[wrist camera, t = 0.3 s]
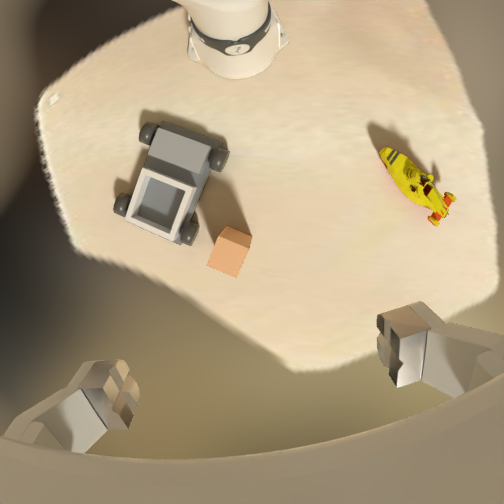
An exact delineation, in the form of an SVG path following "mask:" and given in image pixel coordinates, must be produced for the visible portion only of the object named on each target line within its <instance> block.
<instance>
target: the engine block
mask: <svg viewBox="0 0 504 504" xmlns="http://www.w3.org/2000/svg"><path fill="white" fill-rule="evenodd" d="M251 239H252V236H250V235H247V234H245V233H243V232H240V231H238V230H236V229H233V228H231V227H229V226H226V227H225V228H224V230H223V231H222V232H221V233H220V234H219V236H218V238H217V241H216V243H215V245H214V248H213V250H212V253H211V255H210V258H209V260H208V263H207V266H209V267H212V268H214V269H216V270H219V271H221V272H223V273H226V274H228V275H230V276H233V277H235V278H237V276H238V274H239V271H240V269H241V267H242V264H243V262H244V260H245V258H246V255H247V253H248V251H249V248H250V244H251Z"/></svg>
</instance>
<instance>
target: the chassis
mask: <svg viewBox="0 0 504 504" xmlns="http://www.w3.org/2000/svg"><path fill="white" fill-rule="evenodd" d="M139 141H140V142H142V143H144V144H147V145H150V146H151V147H150V149H149V152H148V157H147V160H146V162H145V165H144V168H142V170H141V173H140V176H139V178H138V181H137V184H136V187H135V190H134V193H133V196H132V197H131V196H129V195H126V194H124V193H121V194H120V195H119V196H118V197H117V199H116V201H115V204H114V208H113V210H114V213H116V214H119V215H121V216H123V217H125V216H126V217H125V221H127V222H129V223H131V224H133V225H136V226H138V227H140V228H142V229H145V230H147V231H149V232H151V233H154V234H156V235H158V236H160V237H163V238H165V239H167V240H170V241H172V242H174V243H176V244H179V245H182V243H184V244H187V245H189V246H191V245H192V244H193V242H194V240H195V238H196V236H197V233H198V230H199V225H197V224H195V223H193V222H191V219H192V216H193V214H194V211H195V209H196V206H197V204H198V201H199V199H200V196H201V194H202V191H203V189H204V186H205V184H206V181H207V179H208V176H209V174H210V172H211V169H213V170H215V171H218V172H222V170H223V168H224V166H225V164H226V162H227V160H228V157H229V153H230V151H228V150H225V149H223V148H221V146H222V142H219V141H217V140H214V139H212V138H209V137H206V136H204V135H201V134H198V133H195V132H193V131H190V130H187V129H184V128H181V127H179V126H176V125H173V124H170V123H167V122H164V121H162V122H161V125H160V127H159V125H157V124H154V123H151V122H146V123H145V124H144V125H143V127H142V129H141V131H140V134H139Z"/></svg>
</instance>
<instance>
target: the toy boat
mask: <svg viewBox="0 0 504 504" xmlns="http://www.w3.org/2000/svg"><path fill="white" fill-rule="evenodd" d="M379 153H380V157H381V159H382V161H383V163H384V164H385V166H386V169H387V171H388V173H389V174H391V176H392V178H393V179H394V181H395V183H396V185H397V187H398V188H399V189H400V190H401V191H402V193H403V194H404V195H405V196H406V197H407V198H409V199H410V200H411V201H413V202H414V203H416V204H419V205H421V206H424V207H426V208H429V209H431V210H432V211H433V214H432V215H431V217H430V216H428V220H429V221H430V222H431V223H432V224H433V225H435V226H438V225H439V224H440V223H439V220H440V219H441V218H445V217H446V215H447V214H448V211H449V208H448V207H449V206H450V204H451V202H454V201H455V200H456V197H455V196H454V195H453V194H451V193H449V192H445V193H444V195H445V196H444V198H443V196H442V195H441V194H440V193H439V191H438V190H437V189H436V188H435V187H434V185H433V184H432V183H431V182H432V181H433V179H434V177H433V176H432V175H431V174H428V175H427V174H425V173H424V172H422V171H421V170H420V169H419V168H418V167H417V166H416V165H415V164H414V163H413V162H412V161H411V160H410V159H409V158H408V157H407V156H406V155H404V154H402V153H400V152H398V151H396V150H394V149H392V148H389V147H385V148H383V149H381V151H380V152H379ZM392 167H393V168H392ZM420 181H421V183H422V184H423V185H420V184H419V183H420ZM410 184H411V185H412V186H413V187H414V188H415V190H414V192H412V191H411V190H412V189H413V188H412V187H411V186H410ZM411 188H412V189H411ZM448 215H449V214H448Z"/></svg>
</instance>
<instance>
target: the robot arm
mask: <svg viewBox="0 0 504 504" xmlns="http://www.w3.org/2000/svg"><path fill="white" fill-rule="evenodd" d="M172 1H175V2H177V3H179V4H181V5H182V6H183V7H184V8H185V9H186V10H187V12H188V20H189V21H191V26H189V28H188V30H189V33H190V38H189V47H188V56H189V58H190V59H191V60H193V61H195V62H199V63H202V64H203V65H205V66H206V67H207V68H208V69H209V70H210V71H212V72H213V73H215V74H217V75H219V76H222V77H225V78H230V79H242V78H248V77H251V76H254V75H256V74H258V73H260V72H262V71H263V70H265V69H266V68H267V67H268V66H269V65H270V64H271V63H272V61H273V60H274V58H275V56H276V54H277V52H278V51H279V50H281V49H282V48H283V47H285V46H286V45H287V44H288V42H289V38H288V36H287V34H286V32H285V30H284V28H283V26H282V24H281V22H280V20H279V18H278V16H277V14H276V12H275V10H274V8H273V7H272V5H271V3H270V1H269V0H172ZM280 34H282V36H280ZM193 49H194V50H193ZM377 328H378V329H379V331H380V334H379V336H378V337H377V349H378V354H379V357H380V360H381V362H382V364H383V366H385V367H388V368H389V376H390V377H391V379H392V380H393V382H394V384H395V386H396V387H397V388H398V387H401V386H404V385H407V384H410V383H413V382H416V381H419V380H422V381H423V382H425V383H427V384H429V385H430V386H433V387H434V388H436V389H438V390H440V391H442V392H444V393H446V394H448V395H450V396H452V397H453V399H451V400H449V401H447V402H444V403H442V404H440V405H438V406H435V407H433V408H430V409H428V410H426V411H423V412H421V413H418V414H415V415H413V416H411V417H407V418H405V419H402V420H399V421H397V422H394V423H391V424H388V425H385V426H381V427H379V428H375V429H372V430H369V431H365V432H362V433H358V434H354V435H351V436H347V437H343V438H339V439H335V440H331V441H327V442H322V443H318V444H313V445H308V446H303V447H298V448H292V449H286V450H280V451H274V452H267V453H260V454H253V455H243V456H233V457H221V458H204V459H138V458H137V459H136V458H120V457H110V456H100V455H91V454H84V453H85V451H87V449H89V448H90V447H91V446H92V445H93V444H94V443H95V442H96V441H97V440H98V439H99V438H100V437H101V436H102V435H103V434H104V433H105V432H106V431H107V429H129V426H130V423H131V421H132V419H133V416H134V415H133V413H132V410H133V409H134V408H136V407H137V406H138V403H139V394H140V393H139V389H138V385H137V384H136V381H135V380H134V379H133V378H131V377H130V376H129V375H128V374H129V370H130V369H129V368H128V366H127V364H126V362H125V361H123V360H106V361H88V362H84V363H83V365H82V366H81V367H80V369H79V370H78V372H77V373H76V374H75V376H74V377H73V379H72V380H71V382H70V383H69V384H68V386H67V387H66V388H63V389H61V390H59V391H58V392H56V393H55V394H53V395H51V396H50V397H48V398H46V399H45V400H43V401H41V402H40V403H38V404H37V405H35V406H33V407H32V408H30V409H28V410H27V411H25V412H24V413H22V414H21V415H19V416H17V417H16V418H15V419H14V421H13V422H12V424H11V425H10V426H9V428H8V429H7V431H6V432H5V434H4V435H3V436H1V435H0V504H504V335H502V334H497V333H493V332H489V331H484V330H480V329H476V328H472V327H467V326H463V325H459V324H455V323H451V322H450V323H447V324H446V323H445V322H444V321H443V320H442V319H441V318H440V317H439V316H437V315H436V314H435V313H434V312H433V311H432V310H431V309H430V308H429V307H428V306H427V305H426V304H424V303H423V302H421V301H418V302H415V303H412V304H409V305H407V306H404V307H401V308H398V309H394V310H391V311H388V312H385V313H381V314H378V315H377Z"/></svg>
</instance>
